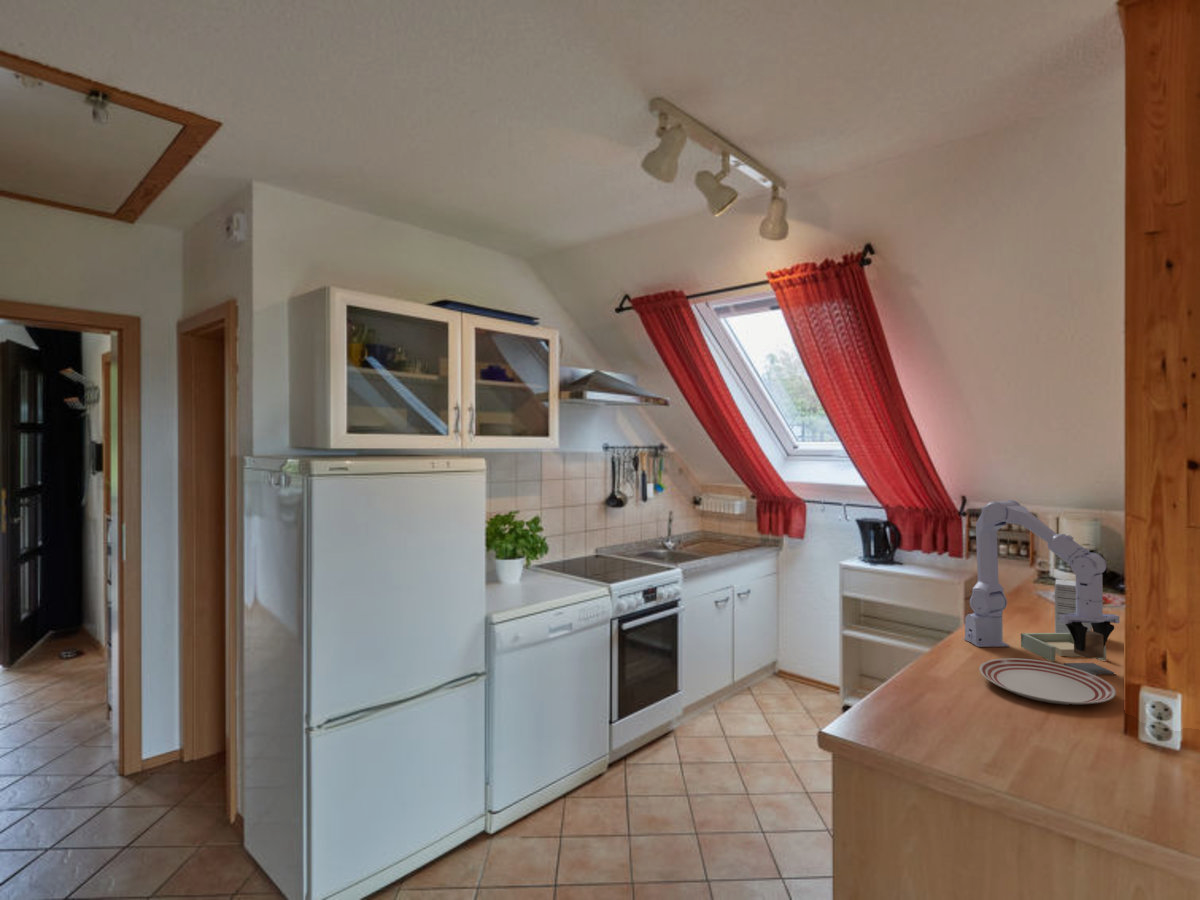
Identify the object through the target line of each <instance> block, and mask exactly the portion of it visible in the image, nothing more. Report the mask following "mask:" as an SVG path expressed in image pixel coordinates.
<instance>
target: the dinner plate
mask: <svg viewBox="0 0 1200 900" xmlns="http://www.w3.org/2000/svg"><path fill="white" fill-rule="evenodd" d="M979 672H980V674H981V675H982V676H983V677H984V678H985V679H986V680H988V681H990V682H991V683H992V684H994V685H996V686H997V687H1000V688H1002V689H1003V690H1006V691H1009V692H1011V693H1013V694H1015V695H1017V696H1020V697H1023V698H1026V699H1029V700H1034V701H1038V702H1042V703H1049V704H1056V705H1069V704H1072V705H1091V704H1092V705H1093V704H1101V703H1105V702H1108V701H1111V700H1113V698H1115V696H1116V693H1117V692H1116V689H1115V688H1114V687H1113V685H1112V684H1110V683H1109V682H1108V681H1106V680H1105V679H1103V678H1101V677H1099V676H1098V675H1093V674H1090V673H1088V672H1085V671H1082V670H1079V669H1076V668H1073V667H1069V666H1066V665H1064V664H1060V663H1056V662H1052V661H1045V660H1038V659H1031V658H1017V657H1016V658H1013V657H1012V658H997V659H990V660H987V661H985V662H983V663H981V664H980V666H979Z"/></svg>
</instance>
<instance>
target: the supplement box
mask: <svg viewBox="0 0 1200 900" xmlns="http://www.w3.org/2000/svg"><path fill="white" fill-rule="evenodd" d="M1072 613H1076V580H1066V579H1057V578H1056V579H1055V582H1054V633H1070V631H1069V629H1068V628H1067V626H1066V625H1065V624H1064V623H1061V622H1059V615H1065V614H1072ZM1082 624H1083V626H1085V627H1087V628H1088V629H1087V630H1090V631H1093V628H1092V625H1091V623H1082Z"/></svg>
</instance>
